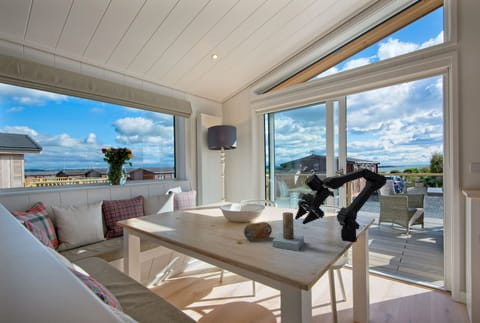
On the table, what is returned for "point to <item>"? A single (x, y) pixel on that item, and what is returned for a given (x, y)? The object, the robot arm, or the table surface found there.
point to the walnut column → (288, 226)
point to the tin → (257, 231)
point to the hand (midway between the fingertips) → (299, 221)
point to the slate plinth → (288, 242)
